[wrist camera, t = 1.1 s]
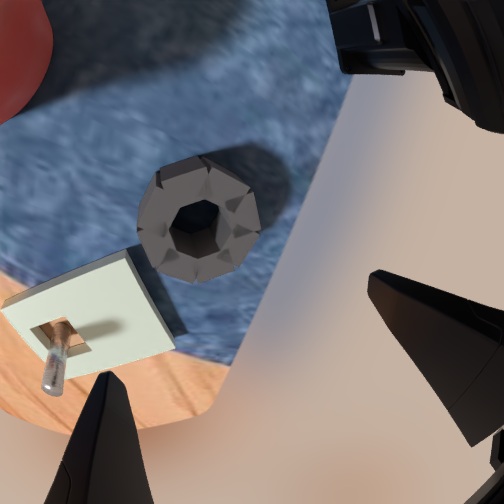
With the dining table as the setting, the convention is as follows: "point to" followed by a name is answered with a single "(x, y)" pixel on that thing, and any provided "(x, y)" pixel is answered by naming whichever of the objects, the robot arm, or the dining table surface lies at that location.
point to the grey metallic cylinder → (56, 360)
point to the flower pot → (22, 53)
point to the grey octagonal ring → (207, 240)
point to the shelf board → (94, 315)
